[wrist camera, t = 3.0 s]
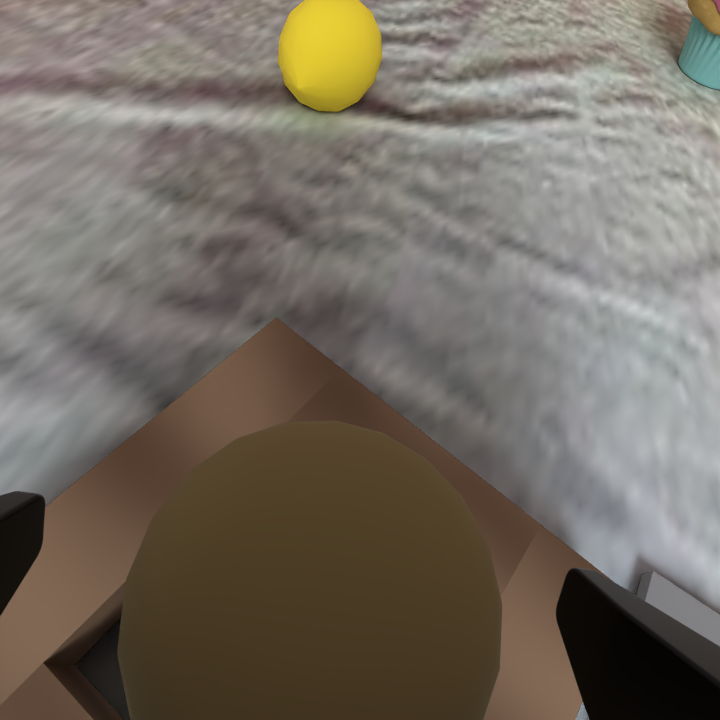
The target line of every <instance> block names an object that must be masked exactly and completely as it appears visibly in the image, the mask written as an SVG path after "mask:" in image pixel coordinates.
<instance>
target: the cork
mask: <svg viewBox="0 0 720 720" xmlns="http://www.w3.org/2000/svg"><path fill="white" fill-rule="evenodd" d="M501 627H502V601H501V596H500V592H499V588H498V584H497V579H496V575H495V571H494V566H493V562H492V558H491V553H490V549H489V545H488V544H487V542H486V540H485V538H484V536H483V534H482V532H481V530H480V529H479V527H478V525H477V523H476V521H475V519H474V517H473V516H472V514H471V512H470V510H469V508H468V506H467V504H466V502H465V501H464V499H463V497H462V496H461V495H460V494H459V493H458V491H457V490H456V489H455V488H454V487H453V486H452V485H451V484H450V483H449V482H448V481H447V480H446V479H445V478H444V477H443V476H442V475H441V474H440V472H439V471H438V470H437V469H436V468H435V467H434V466H433V465H432V464H431V463H430V462H429V461H428V460H427V459H426V458H425V457H423V456H421V455H420V454H418V453H416V452H415V451H413V450H411V449H409V448H408V447H406V446H404V445H403V444H401V443H399V442H398V441H396V440H394V439H393V438H391V437H389V436H388V435H386V434H384V433H382V432H378V431H374V430H370V429H367V428H363V427H359V426H355V425H351V424H347V423H344V422H340V421H336V420H334V421H302V422H285V423H282V424H278V425H275V426H272V427H269V428H266V429H263V430H260V431H257V432H254V433H251V434H248V435H245V436H242V437H239V438H236V439H235V440H234V441H232V442H231V443H229V444H228V445H226V446H225V447H223V448H222V449H221V450H219V451H218V452H216V453H215V454H213V455H212V456H210V457H209V458H208V459H206V460H205V461H203V462H202V463H200V464H199V465H197V466H196V467H194V468H193V469H192V470H190V472H189V473H188V474H187V475H186V477H185V478H184V479H183V480H182V481H181V483H180V484H179V485H178V486H177V488H176V489H175V490H174V491H173V492H172V494H171V495H170V496H169V497H168V499H167V500H166V501H165V502H164V504H163V505H162V506H161V507H160V508H159V510H158V511H157V512H156V513H155V515H154V516H153V517H152V519H151V522H150V524H149V526H148V529H147V531H146V533H145V536H144V538H143V541H142V543H141V545H140V548H139V550H138V552H137V555H136V557H135V559H134V562H133V564H132V567H131V569H130V571H129V574H128V576H127V578H126V582H125V587H124V596H123V605H122V614H121V623H120V632H119V641H118V650H117V656H118V661H119V666H120V671H121V676H122V681H123V686H124V691H125V696H126V701H127V706H128V711H129V716H130V720H483V719H484V716H485V713H486V710H487V707H488V704H489V700H490V697H491V694H492V691H493V688H494V685H495V682H496V679H497V676H498V673H499V670H500V653H501Z"/></svg>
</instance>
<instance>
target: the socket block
mask: <svg viewBox="0 0 720 720" xmlns="http://www.w3.org/2000/svg"><path fill="white" fill-rule="evenodd" d="M334 420H336V421H340V422H344V423H347V424H351V425H355V426H359V427H363V428H367V429H370V430H374V431H378V432H382V433H384V434H386V435H388V436H389V437H391V438H393V439H394V440H396V441H398V442H399V443H401V444H403V445H404V446H406V447H408V448H409V449H411V450H413V451H415V452H416V453H418V454H420V455H421V456H423V457H425V458H426V459H427V460H428V461H429V462H430V463H431V464H432V465H433V466H434V467H435V468H436V469H437V470H438V471H439V472H440V474H441V475H442V476H443V477H444V478H445V479H446V480H447V481H448V482H449V483H450V484H451V485H452V486H453V487H454V488H455V489H456V490H457V491H458V493H459V494H460V495H461V496H462V497H463V499H464V501H465V502H466V504H467V506H468V508H469V510H470V512H471V514H472V516H473V517H474V519H475V521H476V523H477V525H478V527H479V529H480V530H481V532H482V534H483V536H484V538H485V540H486V542H487V544H488V545H489V549H490V553H491V558H492V562H493V566H494V571H495V575H496V579H497V584H498V588H499V592H500V596H501V601H502V627H501V653H500V670H499V673H498V676H497V679H496V682H495V685H494V688H493V691H492V694H491V697H490V700H489V704H488V707H487V710H486V713H485V716H484V719H483V720H575V719H576V716H577V714H578V711H579V709H580V706H581V704H582V702H583V700H582V698H581V695H580V692H579V689H578V686H577V683H576V680H575V677H574V673H573V670H572V667H571V664H570V661H569V658H568V655H567V652H566V649H565V646H564V643H563V640H562V636H561V633H560V630H559V627H558V624H557V620H556V606H557V602H558V599H559V596H560V593H561V590H562V586H563V583H564V580H565V577H566V574H567V572H568V571H569V570H570V569H572V568H583V569H590V570H594V571H596V572H598V573H600V574H601V575H603V576H605V577H606V578H608V577H607V576H606V575H604V574H603V573H602V572H601V571H599V570H598V569H597V568H595V567H594V566H593V565H592V564H590V563H589V562H588V561H587V560H585V559H584V558H583V557H581V556H580V555H579V554H578V553H576V552H575V551H574V550H572V549H571V548H570V547H569V546H567V545H566V544H565V543H564V542H562V541H561V540H560V539H558V538H557V537H556V536H555V535H553V534H552V533H551V532H549V531H548V530H547V529H546V528H544V527H543V526H542V525H541V524H539V523H538V522H537V521H535V520H534V519H533V518H532V517H530V516H529V515H528V514H527V513H525V512H524V511H523V510H521V509H520V508H519V507H518V506H516V505H515V504H514V503H512V502H511V501H510V500H509V499H507V498H506V497H505V496H504V495H502V494H501V493H500V492H498V491H497V490H496V489H495V488H493V487H492V486H491V485H489V484H488V483H487V482H486V481H484V480H483V479H482V478H481V477H479V476H478V475H477V474H475V473H474V472H473V471H472V470H470V469H469V468H468V467H467V466H465V465H464V464H463V463H461V462H460V461H459V460H458V459H456V458H455V457H454V456H452V455H451V454H450V453H449V452H447V451H446V450H445V449H444V448H442V447H441V446H440V445H438V444H437V443H436V442H435V441H433V440H432V439H431V438H429V437H428V436H427V435H426V434H424V433H423V432H422V431H421V430H419V429H418V428H417V427H415V426H414V425H413V424H412V423H410V422H409V421H408V420H407V419H405V418H404V417H403V416H401V415H400V414H399V413H398V412H396V411H395V410H394V409H392V408H391V407H390V406H389V405H387V404H386V403H385V402H384V401H382V400H381V399H380V398H378V397H377V396H376V395H375V394H373V393H372V392H371V391H369V390H368V389H367V388H366V387H364V386H363V385H362V384H361V383H359V382H358V381H357V380H355V379H354V378H353V377H352V376H350V375H349V374H348V373H347V372H345V371H344V370H343V369H341V368H340V367H339V366H338V365H336V364H335V363H334V362H332V361H331V360H330V359H329V358H327V357H326V356H325V355H324V354H322V353H321V352H320V351H318V350H317V349H316V348H315V347H313V346H312V345H311V344H309V343H308V342H307V341H306V340H304V339H303V338H302V337H301V336H299V335H298V334H297V333H295V332H294V331H293V330H292V329H290V328H289V327H288V326H287V325H285V324H284V323H283V322H281V321H280V320H279V319H278V318H275V319H274V320H272V321H271V322H270V323H269V324H268V325H266V326H265V327H264V328H263V329H262V330H260V331H259V332H258V333H257V334H255V335H254V336H253V337H252V338H251V339H249V340H248V341H247V342H246V343H244V344H243V345H242V346H241V347H240V348H238V349H237V350H236V351H235V352H233V353H232V354H231V355H230V356H229V357H227V358H226V359H225V360H224V361H223V362H221V363H220V364H219V365H218V366H216V367H215V368H214V369H213V370H212V371H210V372H209V373H208V374H207V375H205V376H204V377H203V378H202V379H201V380H199V381H198V382H197V383H196V384H195V385H193V386H192V387H191V388H190V389H188V390H187V391H186V392H185V393H184V394H182V395H181V396H180V397H179V398H177V399H176V400H175V401H174V402H173V403H171V404H170V405H169V406H168V407H167V408H165V409H164V410H163V411H162V412H160V413H159V414H158V415H157V416H156V417H154V418H153V419H152V420H151V421H149V422H148V423H147V424H146V425H145V426H143V427H142V428H141V429H140V430H138V431H137V432H136V433H135V434H134V435H132V436H131V437H130V438H129V439H128V440H126V441H125V442H124V443H123V444H121V445H120V446H119V447H118V448H117V449H115V450H114V451H113V452H112V453H110V454H109V455H108V456H107V457H106V458H104V459H103V460H102V461H101V462H100V463H98V464H97V465H96V466H95V467H93V468H92V469H91V470H90V471H89V472H87V473H86V474H85V475H84V476H82V477H81V478H80V479H79V480H78V481H76V482H75V483H74V484H73V485H71V486H70V487H69V488H68V489H67V490H65V491H64V492H63V493H62V494H61V495H59V496H58V497H57V498H56V499H54V500H53V501H52V502H51V503H50V504H48V505H47V506H46V507H45V518H44V535H43V544H42V547H41V550H40V553H39V555H38V557H37V558H36V560H35V562H34V563H33V565H32V566H31V568H30V570H29V571H28V573H27V574H26V576H25V578H24V579H23V581H22V582H21V584H20V586H19V587H18V589H17V590H16V592H15V594H14V595H13V597H12V598H11V600H10V602H9V603H8V605H7V606H6V608H5V610H4V611H3V613H2V614H1V616H0V720H124V719H123V718H122V717H121V716H120V714H119V713H118V712H117V711H116V710H115V709H114V708H113V707H112V706H111V705H110V703H109V702H108V701H107V700H106V699H105V698H104V697H103V696H102V695H101V694H100V692H99V691H98V690H97V689H96V688H95V687H94V686H93V685H92V684H91V683H90V681H89V680H88V679H87V678H86V677H85V676H84V675H83V674H82V673H81V671H80V670H79V669H78V668H77V667H76V666H75V664H76V663H77V662H78V661H79V660H80V659H81V658H82V657H83V656H84V655H85V654H86V653H87V652H88V651H89V650H90V649H91V648H92V647H93V646H94V645H95V644H96V643H97V642H98V641H99V640H100V639H101V638H102V637H103V636H104V635H105V634H106V633H107V632H108V631H109V629H110V628H111V627H112V626H113V625H114V624H115V623H116V622H117V621H118V620H119V619H120V618H121V614H122V605H123V596H124V587H125V582H126V578H127V576H128V574H129V571H130V569H131V567H132V564H133V562H134V559H135V557H136V555H137V552H138V550H139V548H140V545H141V543H142V541H143V538H144V536H145V533H146V531H147V529H148V526H149V524H150V522H151V519H152V517H153V516H154V515H155V513H156V512H157V511H158V510H159V508H160V507H161V506H162V505H163V504H164V502H165V501H166V500H167V499H168V497H169V496H170V495H171V494H172V492H173V491H174V490H175V489H176V488H177V486H178V485H179V484H180V483H181V481H182V480H183V479H184V478H185V477H186V475H187V474H188V473H189V472H190V470H192V469H193V468H194V467H196V466H197V465H199V464H200V463H202V462H203V461H205V460H206V459H208V458H209V457H210V456H212V455H213V454H215V453H216V452H218V451H219V450H221V449H222V448H223V447H225V446H226V445H228V444H229V443H231V442H232V441H234V440H235V439H236V438H239V437H242V436H245V435H248V434H251V433H254V432H257V431H260V430H263V429H266V428H269V427H272V426H275V425H278V424H282V423H285V422H302V421H334ZM608 579H609V578H608ZM610 580H611V579H610ZM611 581H612V580H611Z"/></svg>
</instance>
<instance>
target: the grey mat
mask: <svg viewBox="0 0 720 720" xmlns="http://www.w3.org/2000/svg"><path fill="white" fill-rule="evenodd" d="M636 596H638V597H639V598H641V599H643V600H644V601H646V602H648V603H649V604H651V605H652V606H654V607H656V608H657V609H659V610H661V611H662V612H664V613H666V614H667V615H669V616H671V617H672V618H674V619H676V620H677V621H679V622H681V623H682V624H684V625H685V626H687V627H689V628H690V629H692V630H694V631H695V632H697V633H699V634H700V635H702V636H704V637H705V638H707V639H709V640H710V641H712V642H714V643H715V644H717V645H719V646H720V615H719V614H718V613H716V612H715V611H713V610H712V609H710V608H709V607H707V606H706V605H704V604H703V603H701V602H700V601H698V600H697V599H695V598H694V597H692V596H691V595H689V594H688V593H686V592H685V591H683V590H682V589H680V588H679V587H677V586H676V585H674V584H673V583H671V582H670V581H668V580H667V579H665V578H663V577H662V576H660V575H659V574H657V573H656V572H654V571H651V572H647V573H643V574H642V576H641V580H640V583H639V587H638V590H637V594H636Z"/></svg>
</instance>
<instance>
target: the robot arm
mask: <svg viewBox="0 0 720 720" xmlns="http://www.w3.org/2000/svg"><path fill="white" fill-rule="evenodd" d="M44 518H45V500H44V497H43V496H42V495H40V494H35V493H28V492H21V491H15V492H11V493H8V494H4V495H1V496H0V616H1V614H2V613H3V611H4V610H5V608H6V606H7V605H8V603H9V602H10V600H11V598H12V597H13V595H14V594H15V592H16V590H17V589H18V587H19V586H20V584H21V582H22V581H23V579H24V578H25V576H26V574H27V573H28V571H29V570H30V568H31V566H32V565H33V563H34V562H35V560H36V558H37V557H38V555H39V553H40V550H41V547H42V544H43V535H44ZM556 620H557V624H558V627H559V630H560V633H561V636H562V640H563V643H564V646H565V649H566V652H567V655H568V658H569V661H570V664H571V667H572V670H573V673H574V677H575V680H576V683H577V686H578V689H579V692H580V695H581V698H582V700H583V703H584V706H585V709H586V711H587V714H588V716H589V719H590V720H720V646H719V645H717V644H715V643H714V642H712V641H710V640H709V639H707V638H705V637H704V636H702V635H700V634H699V633H697V632H695V631H694V630H692V629H690V628H689V627H687V626H685V625H684V624H682V623H681V622H679V621H677V620H676V619H674V618H672V617H671V616H669V615H667V614H666V613H664V612H662V611H661V610H659V609H657V608H656V607H654V606H652V605H651V604H649V603H648V602H646V601H644V600H643V599H641V598H639V597H638V596H636V595H634V594H633V593H631V592H629V591H628V590H626V589H624V588H623V587H621V586H619V585H618V584H616V583H615V582H613V581H611V580H610V579H608V578H606V577H605V576H603V575H601V574H600V573H598V572H596V571H594V570H590V569H583V568H572V569H570V570H569V571H568V572H567V574H566V577H565V580H564V583H563V586H562V590H561V593H560V596H559V599H558V602H557V606H556Z"/></svg>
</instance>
